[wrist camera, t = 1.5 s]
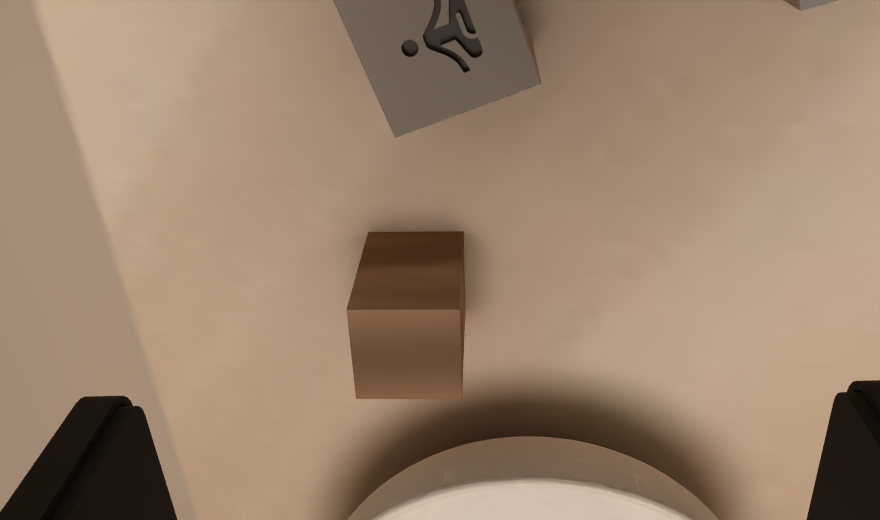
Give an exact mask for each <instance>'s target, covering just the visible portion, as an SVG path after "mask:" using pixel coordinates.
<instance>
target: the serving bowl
mask: <svg viewBox="0 0 880 520" xmlns="http://www.w3.org/2000/svg"><path fill="white" fill-rule="evenodd" d="M348 520H718V518H717V517H716V516H715V515H714V514H713V513H712V512H711V511H710V509H709V508H708V507H706V506H705V505H704V504H703V503H702V502H701V501H700V500H699V499H698V498H697V497H696V496H695V495H693V494H692V493H691V492H689V491H688V490H687V489H686V488H684V487H683V486H682V485H680V484H679V483H678V482H676V481H675V480H673V479H672V478H670V477H669V476H667V475H665V474H664V473H662V472H660V471H659V470H657V469H655V468H653V467H652V466H650V465H648V464H646V463H644V462H641V461H639V460H637V459H635V458H632V457H630V456H628V455H625V454H622V453H620V452H617V451H614V450H611V449H608V448H605V447H601V446H598V445H594V444H591V443H586V442H581V441H576V440H569V439H562V438H553V437H537V436H519V437H503V438H495V439H488V440H483V441H477V442H473V443H468V444H464V445H461V446H457V447H454V448H451V449H448V450H445V451H443V452H440V453H437V454H435V455H432V456H430V457H428V458H426V459H423V460H421V461H419V462H417V463H415V464H413V465H411V466H409V467H408V468H406V469H405V470H403V471H401V472H400V473H398V474H396V475H395V476H393V477H392V478H390V479H389V480H388V481H386V482H385V483H384V484H382V485H381V486H380V487H379V488H377V489H376V490H375V491H374V492H373V493H372V494H370V495H369V496H368V497H367V498H366V499H365V500H364V501H363V502H362V503H361V504H360V505H359V506H358V508H357V509H356V510H355V511H354V512H353V514H352V515H351V516H350V517H349V518H348Z"/></svg>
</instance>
